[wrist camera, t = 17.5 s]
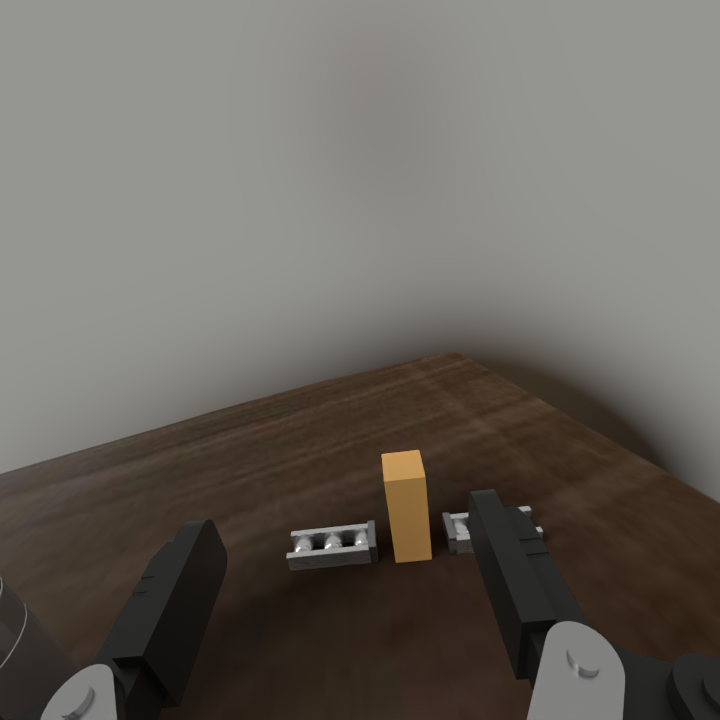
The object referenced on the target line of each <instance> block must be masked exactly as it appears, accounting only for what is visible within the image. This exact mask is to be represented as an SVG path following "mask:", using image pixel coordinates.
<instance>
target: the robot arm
mask: <svg viewBox="0 0 720 720" xmlns="http://www.w3.org/2000/svg"><path fill="white" fill-rule="evenodd" d="M468 527H469V535H470V540H471V544H472V548H473V551H474V554H475V557H476V560H477V563H478V566H479V569H480V572H481V575H482V578H483V581H484V584H485V587H486V590H487V593H488V596H489V599H490V602H491V605H492V608H493V611H494V614H495V617H496V620H497V623H498V626H499V629H500V632H501V635H502V638H503V641H504V644H505V647H506V650H507V653H508V656H509V659H510V662H511V665H512V668H513V671H514V674H515V677H516V680H521V679H529V681H530V683H531V686H532V689H533V696H532V700H531V704H530V708H529V713H528V717H527V720H720V660H719V659H717V658H714V657H712V656H709V655H705V654H701V653H686V654H683V655H681V656H680V657H678V658H677V659H676V661H675V663H670V662H666V661H663V660H659V659H655V658H651V657H647V656H644V655H640V654H636V653H633V652H630V651H627V650H624V649H622V648H620V647H618V646H616V645H614V644H613V643H611V642H609V641H608V640H607V639H605V638H604V637H603V636H601V635H600V634H599V633H598V632H597V631H596V630H595V629H594V628H593V627H592V626H591V625H590V624H589V622H588V621H587V620H586V618H585V617H584V615H583V613H582V612H581V610H580V608H579V606H578V604H577V602H576V601H575V599H574V597H573V595H572V593H571V591H570V590H569V588H568V586H567V584H566V582H565V580H564V579H563V577H562V575H561V573H560V571H559V569H558V567H557V566H556V564H555V562H554V560H553V558H552V556H550V554H549V551H548V549H547V547H546V545H545V544H544V542H543V541H542V539H541V536H540V534H539V533H538V531H537V529H536V527H535V525H534V523H533V521H532V520H531V519H530V518H529V517H528V516H527V515H526V514H525V513H524V512H523V511H521V510H520V509H519V508H518V507H517V506H511V507H503V505H502V503H501V501H500V499H499V497H498V495H497V493H496V491H495V490H494V489H488V490H479V491H470V492H469V493H468ZM226 568H227V553H226V549H225V547H224V545H223V543H222V540H221V538H220V536H219V534H218V531H217V529H216V527H215V525H214V523H213V521H212V520H210V519H208V520H199V521H190V522H185V523H184V524H183V525H182V526H181V528H180V529H179V531H178V533H177V535H176V537H175V539H174V541H173V542H167V543H166V544H165V545H164V546H163V547H162V548H161V549H160V550H159V552H158V553H157V554H156V555H155V556H154V557H153V558H152V559H151V561H150V563H149V564H148V566H147V568H146V570H145V571H144V573H143V575H142V577H141V581H139V582H138V584H137V586H136V587H135V589H134V591H133V595H132V597H130V598H129V600H128V602H127V603H126V605H125V607H124V609H123V611H122V612H121V614H120V616H119V618H118V619H117V621H116V623H115V625H114V627H113V628H112V630H111V632H110V634H109V635H108V637H107V639H106V641H105V642H104V644H103V646H102V648H101V650H100V651H99V653H98V655H97V657H96V658H95V660H94V661H93V663H92V664H91V666H89V667H87V668H85V669H82V668H81V667H80V665H79V664H78V663H77V662H76V661H75V660H74V659H73V658H72V657H71V655H70V654H69V653H68V652H67V651H66V650H65V649H64V648H63V646H62V645H61V644H60V643H59V642H58V641H57V640H56V639H55V637H54V636H53V635H52V634H51V633H50V632H49V631H48V630H47V628H46V627H45V626H44V625H43V624H42V623H41V622H40V621H39V619H38V618H37V617H36V616H35V615H34V614H33V613H32V612H31V610H30V609H29V608H28V607H27V606H26V605H25V604H24V603H23V601H22V600H21V599H19V597H18V596H17V595H16V594H15V593H14V592H13V591H12V589H11V588H10V587H9V586H8V585H7V584H6V583H5V582H4V580H3V579H2V578H1V577H0V720H158V717H159V715H160V712H161V709H162V708H166V707H178V706H180V703H181V700H182V697H183V694H184V691H185V688H186V685H187V682H188V680H189V677H190V674H191V671H192V668H193V665H194V662H195V659H196V656H197V654H198V651H199V648H200V645H201V642H202V639H203V636H204V633H205V630H206V628H207V625H208V622H209V619H210V616H211V613H212V610H213V607H214V604H215V602H216V599H217V596H218V593H219V590H220V587H221V584H222V581H223V578H224V576H225V572H226Z"/></svg>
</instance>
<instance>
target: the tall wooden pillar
mask: <svg viewBox="0 0 720 720" xmlns="http://www.w3.org/2000/svg"><path fill="white" fill-rule="evenodd" d="M382 464H383V475H384V484H385V491H386V498H387V505H388V512H389V519H390V526H391V533H392V539H393V546H394V553H395V560H396V563H400V562H411V561H421V560H431V559H432V554H431V541H430V528H429V516H428V503H427V490H426V478H425V473H424V469H423V465H422V461H421V456H420V452H419V450H413V451H405V452H396V453H387V454H382Z"/></svg>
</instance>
